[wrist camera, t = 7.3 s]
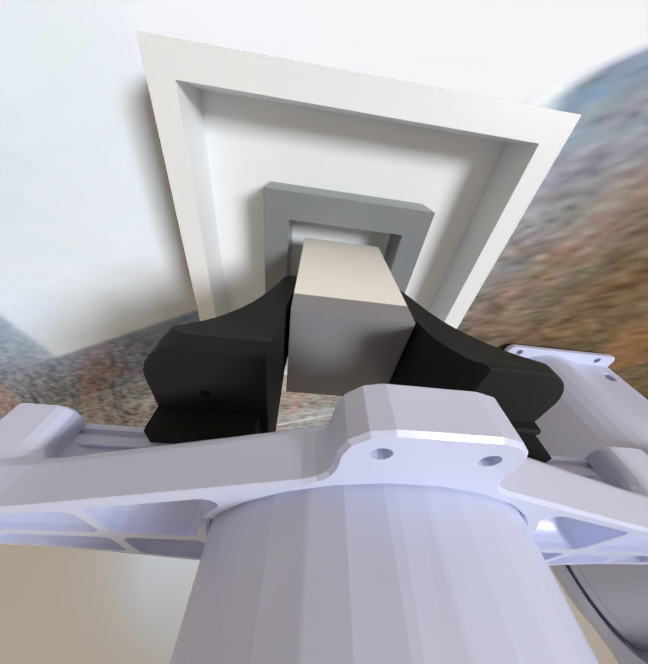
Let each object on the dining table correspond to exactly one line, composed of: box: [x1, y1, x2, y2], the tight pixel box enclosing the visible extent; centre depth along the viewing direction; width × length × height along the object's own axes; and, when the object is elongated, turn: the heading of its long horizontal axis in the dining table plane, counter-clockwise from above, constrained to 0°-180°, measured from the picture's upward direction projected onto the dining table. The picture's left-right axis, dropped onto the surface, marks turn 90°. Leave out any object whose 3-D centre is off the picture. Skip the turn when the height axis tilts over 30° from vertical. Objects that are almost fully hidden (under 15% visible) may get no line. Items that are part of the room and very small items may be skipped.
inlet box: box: [136, 31, 581, 375], centre depth 15 cm, size 16×16×3 cm
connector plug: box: [286, 237, 415, 396], centre depth 12 cm, size 4×4×7 cm
